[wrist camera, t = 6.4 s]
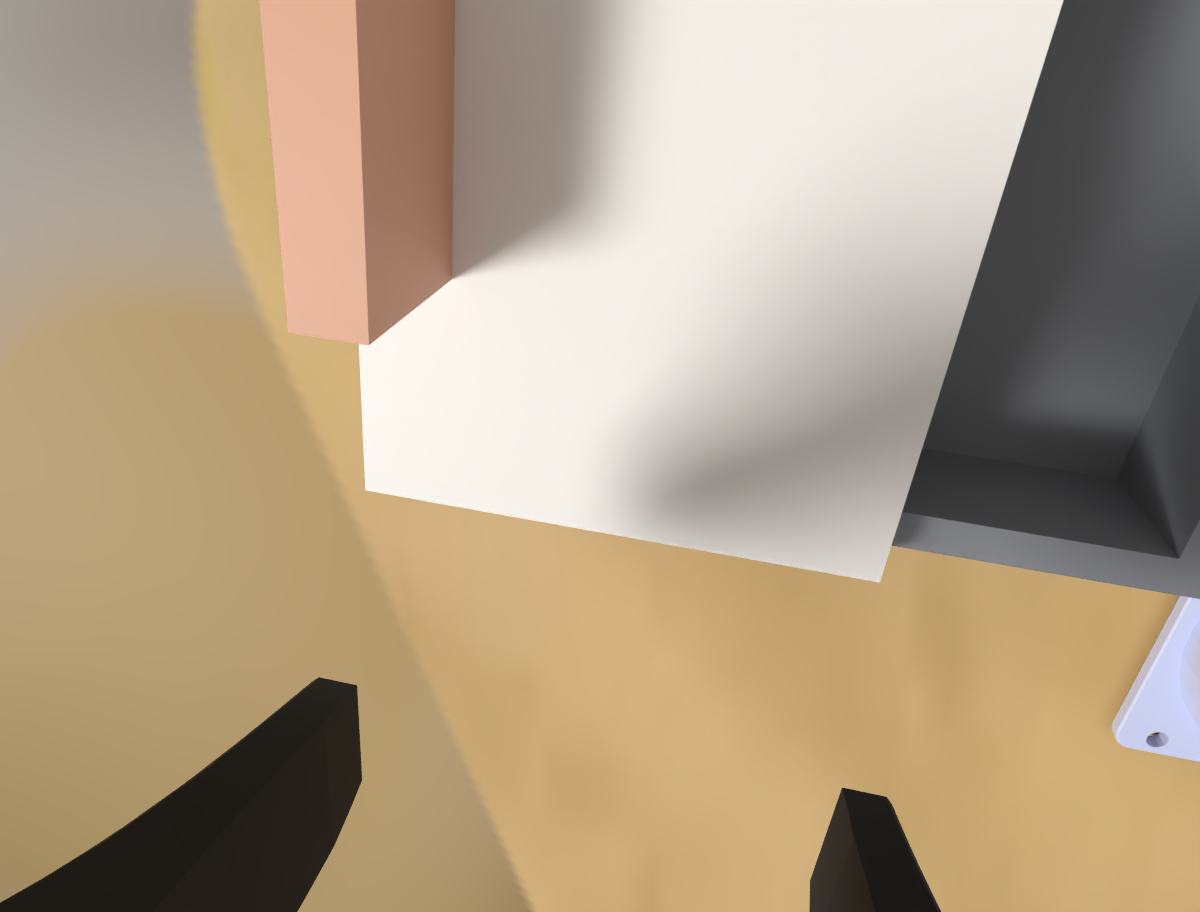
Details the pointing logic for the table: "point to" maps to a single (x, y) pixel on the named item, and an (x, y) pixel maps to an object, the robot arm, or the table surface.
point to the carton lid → (649, 248)
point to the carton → (1084, 324)
